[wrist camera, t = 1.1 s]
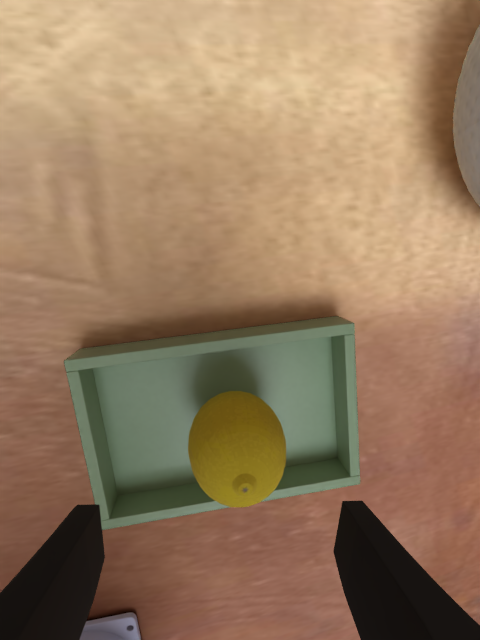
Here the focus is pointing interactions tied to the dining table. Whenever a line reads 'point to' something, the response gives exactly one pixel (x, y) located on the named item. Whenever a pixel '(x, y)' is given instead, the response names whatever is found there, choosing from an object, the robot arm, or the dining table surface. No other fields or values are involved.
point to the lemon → (237, 449)
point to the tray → (193, 392)
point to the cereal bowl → (469, 119)
